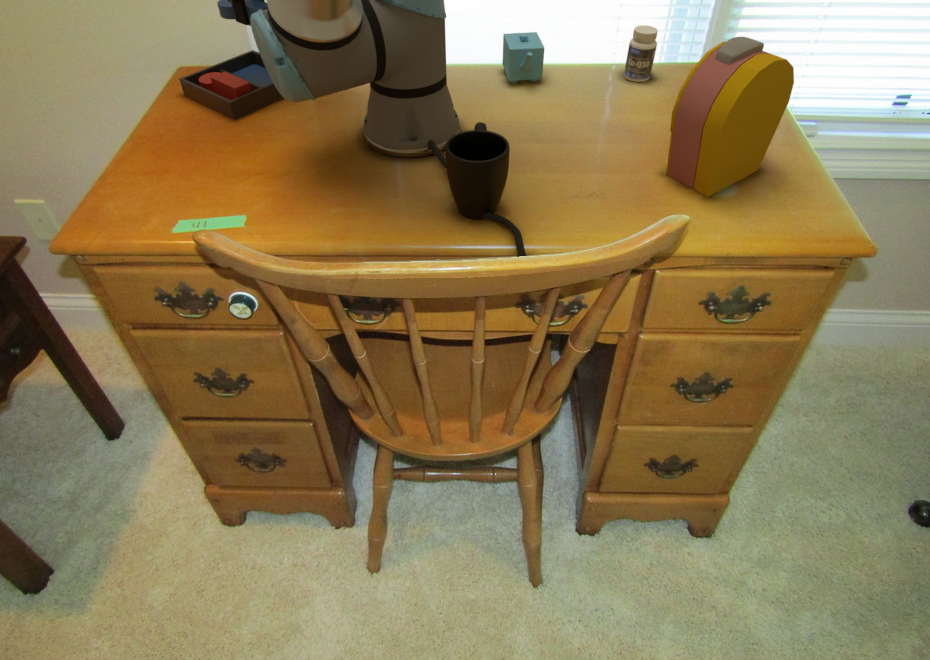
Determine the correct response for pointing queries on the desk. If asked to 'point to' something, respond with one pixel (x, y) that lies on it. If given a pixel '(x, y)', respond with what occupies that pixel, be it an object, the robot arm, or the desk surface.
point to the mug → (477, 170)
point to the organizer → (241, 67)
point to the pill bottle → (641, 54)
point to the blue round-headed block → (251, 5)
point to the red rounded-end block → (225, 84)
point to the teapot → (523, 56)
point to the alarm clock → (727, 115)
